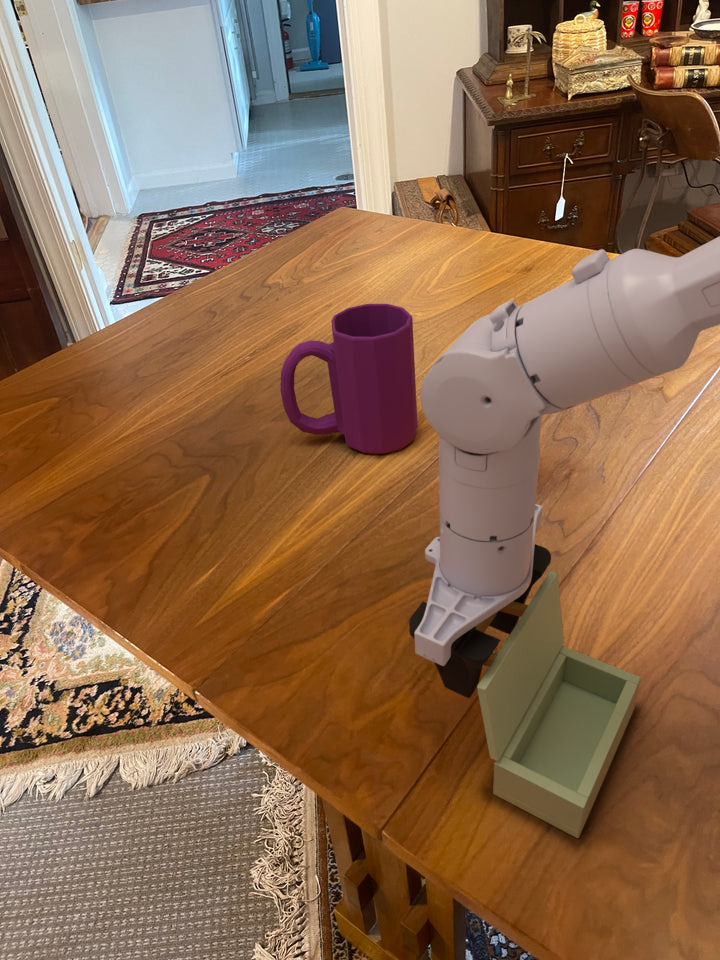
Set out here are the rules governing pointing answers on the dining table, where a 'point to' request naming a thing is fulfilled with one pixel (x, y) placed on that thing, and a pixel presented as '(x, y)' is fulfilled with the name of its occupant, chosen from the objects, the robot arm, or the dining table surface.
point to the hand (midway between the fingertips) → (480, 656)
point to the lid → (520, 663)
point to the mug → (363, 379)
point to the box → (567, 740)
